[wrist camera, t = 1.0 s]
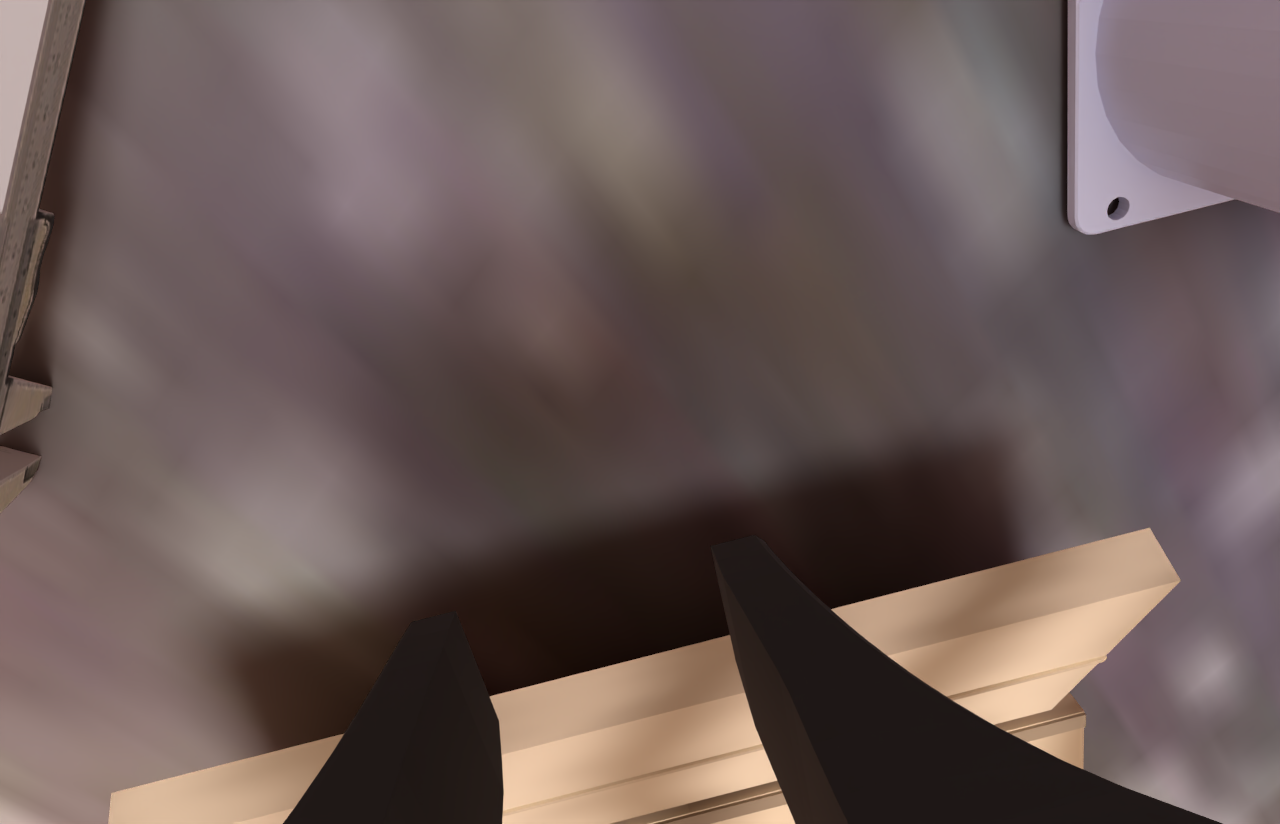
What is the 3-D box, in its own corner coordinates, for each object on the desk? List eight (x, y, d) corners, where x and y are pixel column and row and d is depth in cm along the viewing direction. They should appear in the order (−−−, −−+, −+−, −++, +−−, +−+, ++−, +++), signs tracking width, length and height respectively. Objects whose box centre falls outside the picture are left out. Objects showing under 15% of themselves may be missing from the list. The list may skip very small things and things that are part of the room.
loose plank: (1149, 527, 19) (1182, 583, 18) (1032, 670, 27) (1052, 712, 26) (111, 792, 18) (104, 860, 18) (317, 854, 27) (318, 901, 26)
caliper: (47, 470, 21) (-123, 650, 15) (-6, 456, 21) (-198, 635, 15) (231, -657, 14) (32, -1099, 8) (153, -703, 13) (-110, -1196, 8)
